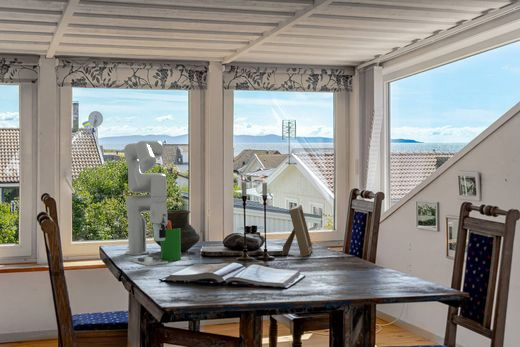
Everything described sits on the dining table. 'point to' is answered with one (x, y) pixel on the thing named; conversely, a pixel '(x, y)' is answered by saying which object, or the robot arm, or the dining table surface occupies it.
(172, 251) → the motor
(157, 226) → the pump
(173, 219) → the ceramic pot
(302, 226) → the photo frame
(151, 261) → the clip bracket
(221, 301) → the dining table surface
